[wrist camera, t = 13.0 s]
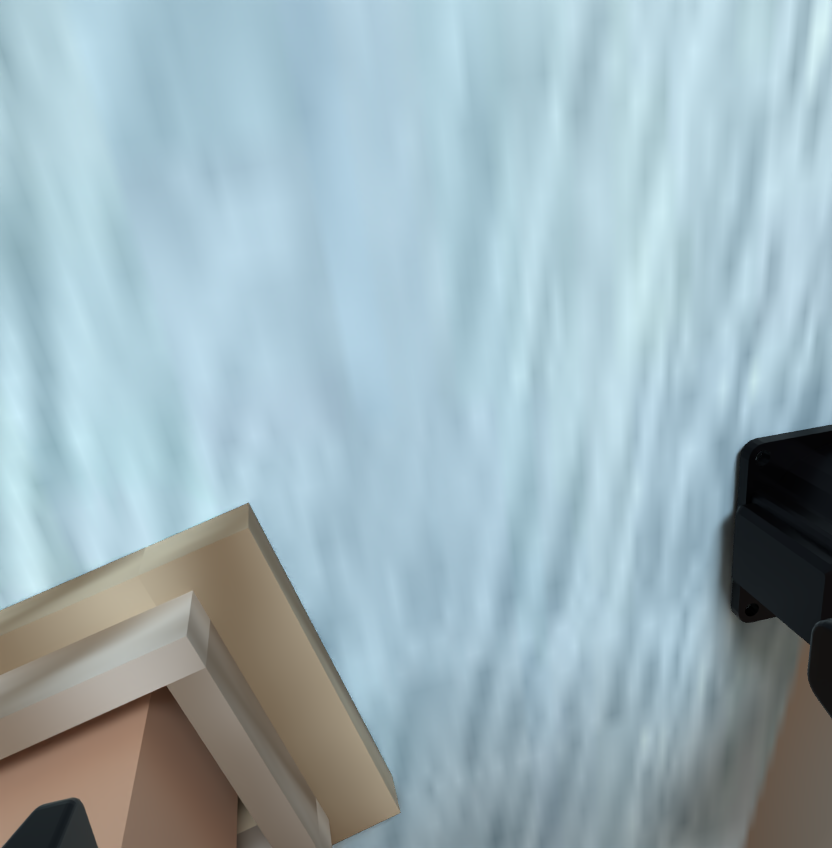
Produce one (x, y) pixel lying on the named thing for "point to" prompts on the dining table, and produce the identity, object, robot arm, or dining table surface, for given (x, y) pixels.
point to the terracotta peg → (127, 779)
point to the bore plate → (205, 677)
